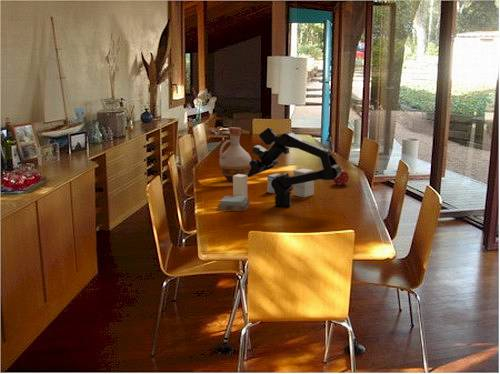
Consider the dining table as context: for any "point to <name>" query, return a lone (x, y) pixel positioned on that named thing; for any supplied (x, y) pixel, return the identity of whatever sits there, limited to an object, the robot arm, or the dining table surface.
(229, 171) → the jug
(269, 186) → the medicine box
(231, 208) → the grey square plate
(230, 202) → the slate top slab
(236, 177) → the ivory pillar block
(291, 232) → the dining table surface
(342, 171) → the christmas ornament
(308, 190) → the supplement box
